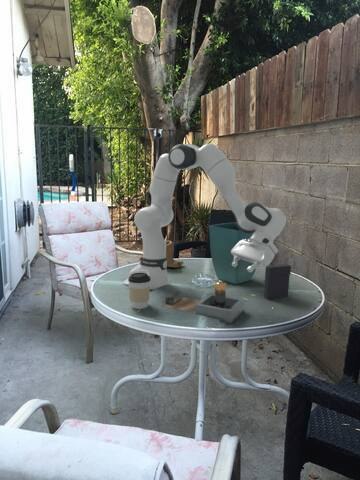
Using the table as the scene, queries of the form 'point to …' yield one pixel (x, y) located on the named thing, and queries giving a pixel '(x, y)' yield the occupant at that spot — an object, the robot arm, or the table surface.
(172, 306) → the plate
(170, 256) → the wooden bookend
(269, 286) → the grey box
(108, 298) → the table surface
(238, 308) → the bin
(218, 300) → the battery cell
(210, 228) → the flower pot
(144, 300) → the coffee cup
